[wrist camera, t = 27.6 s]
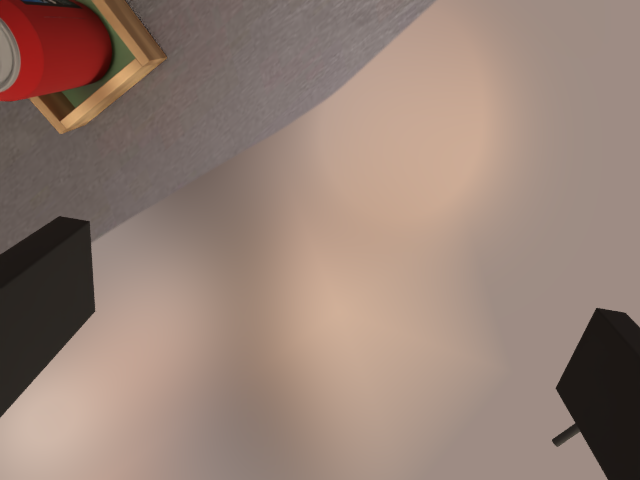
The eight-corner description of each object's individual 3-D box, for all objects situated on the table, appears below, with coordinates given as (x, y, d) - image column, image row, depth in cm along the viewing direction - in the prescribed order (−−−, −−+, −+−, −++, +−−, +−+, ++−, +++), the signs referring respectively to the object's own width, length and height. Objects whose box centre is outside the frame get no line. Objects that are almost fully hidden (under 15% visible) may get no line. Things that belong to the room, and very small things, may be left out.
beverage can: (71, -21, 37) (-45, -41, 26) (133, 50, 39) (49, 59, 28) (22, 36, 39) (-104, 39, 28) (83, 100, 41) (-12, 126, 30)
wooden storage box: (84, 125, 43) (60, 134, 39) (-5, 21, 39) (-41, 20, 36) (167, 57, 40) (149, 60, 36) (79, -62, 36) (49, -72, 33)
